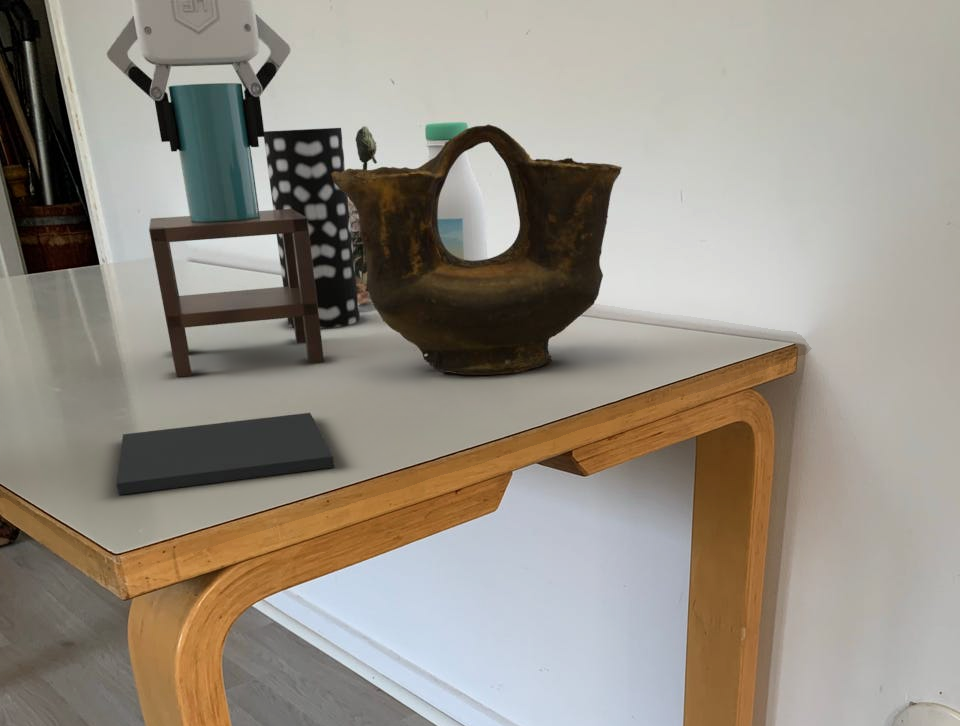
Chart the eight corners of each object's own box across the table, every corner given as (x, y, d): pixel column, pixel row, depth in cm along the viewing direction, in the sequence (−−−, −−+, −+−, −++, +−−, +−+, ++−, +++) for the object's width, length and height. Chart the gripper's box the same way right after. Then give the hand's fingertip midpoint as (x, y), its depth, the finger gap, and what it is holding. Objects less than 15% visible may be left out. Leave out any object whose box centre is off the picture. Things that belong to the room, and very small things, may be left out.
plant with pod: (381, 295, 131) (367, 125, 122) (401, 308, 121) (387, 125, 112) (321, 301, 129) (301, 129, 120) (336, 314, 119) (316, 128, 110)
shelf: (176, 377, 93) (148, 229, 87) (175, 352, 103) (150, 218, 97) (324, 361, 96) (307, 217, 90) (308, 339, 106) (292, 208, 100)
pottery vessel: (357, 390, 85) (331, 132, 76) (347, 363, 95) (323, 132, 86) (633, 365, 89) (640, 117, 80) (597, 342, 99) (600, 118, 89)
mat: (118, 495, 64) (116, 483, 63) (125, 444, 74) (122, 434, 74) (334, 467, 67) (333, 456, 66) (311, 422, 77) (310, 412, 77)
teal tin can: (191, 223, 90) (168, 85, 85) (189, 216, 97) (168, 88, 92) (262, 218, 91) (244, 82, 86) (255, 212, 99) (237, 86, 93)
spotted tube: (331, 330, 110) (309, 129, 101) (273, 326, 114) (246, 132, 105) (373, 317, 117) (356, 126, 107) (317, 314, 120) (295, 129, 111)
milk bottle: (464, 307, 120) (455, 121, 111) (503, 314, 114) (496, 120, 105) (411, 316, 116) (396, 125, 107) (448, 324, 110) (436, 123, 101)
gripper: (65, -101, 77) (114, 155, 85) (288, -100, 81) (314, 144, 89) (72, -83, 83) (118, 153, 92) (278, -83, 87) (304, 143, 96)
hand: (214, 147), depth 90 cm, fingers closed on teal tin can, 6 cm apart
